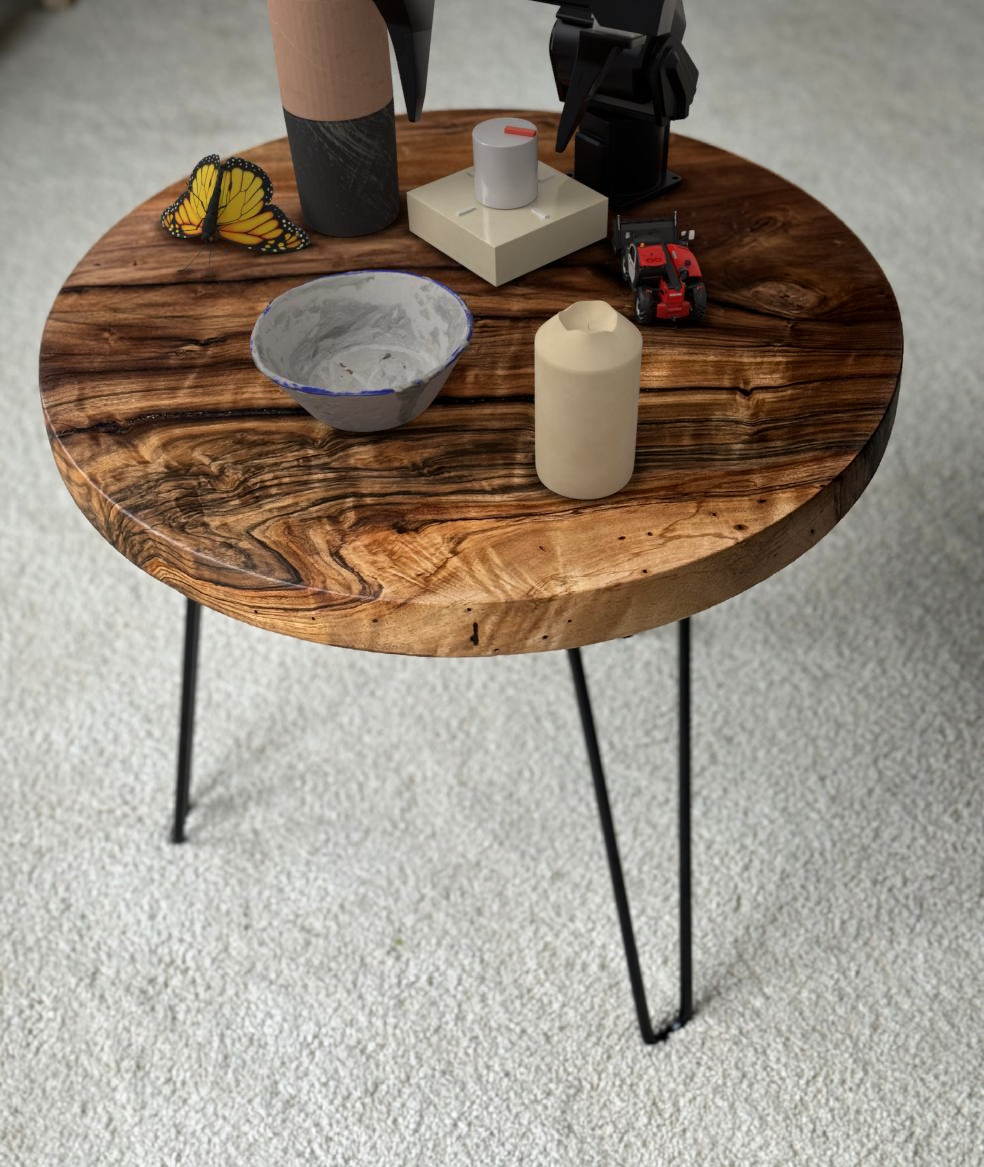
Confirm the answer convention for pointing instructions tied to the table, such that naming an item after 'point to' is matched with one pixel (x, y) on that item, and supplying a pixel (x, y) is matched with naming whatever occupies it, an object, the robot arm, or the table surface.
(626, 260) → the loader
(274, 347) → the bowl
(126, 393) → the table surface
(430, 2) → the robot arm
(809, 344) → the table surface
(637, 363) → the candle
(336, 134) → the travel mug
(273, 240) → the butterfly
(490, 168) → the tap knob
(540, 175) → the plate
